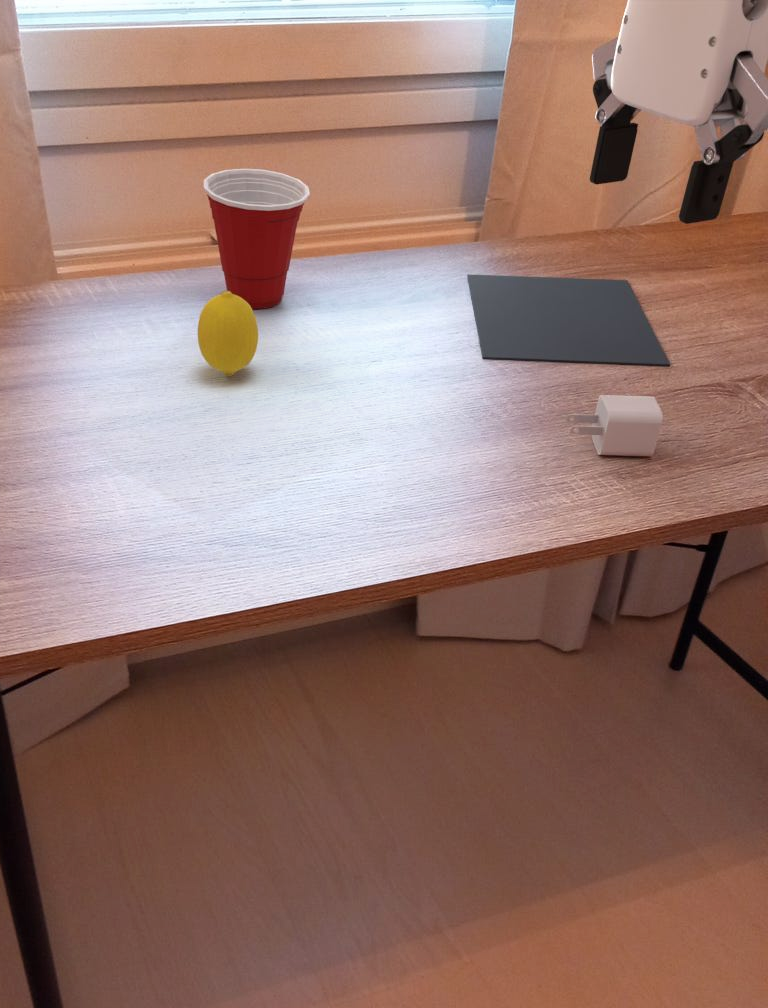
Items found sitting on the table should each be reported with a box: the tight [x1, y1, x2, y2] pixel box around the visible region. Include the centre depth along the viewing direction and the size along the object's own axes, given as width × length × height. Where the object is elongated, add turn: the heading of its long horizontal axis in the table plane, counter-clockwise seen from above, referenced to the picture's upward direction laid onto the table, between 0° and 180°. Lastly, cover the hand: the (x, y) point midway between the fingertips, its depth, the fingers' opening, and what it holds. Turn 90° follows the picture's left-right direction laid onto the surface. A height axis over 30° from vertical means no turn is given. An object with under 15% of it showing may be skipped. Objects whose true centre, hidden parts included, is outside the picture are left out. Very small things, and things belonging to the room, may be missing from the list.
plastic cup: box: [203, 168, 311, 310], centre depth 106 cm, size 11×11×12 cm
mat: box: [466, 273, 671, 367], centre depth 107 cm, size 22×18×1 cm
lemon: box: [197, 290, 259, 377], centre depth 93 cm, size 6×6×8 cm
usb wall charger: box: [565, 394, 663, 457], centre depth 85 cm, size 4×7×4 cm, turn 88°
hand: (650, 200), depth 75 cm, fingers open, 9 cm apart
